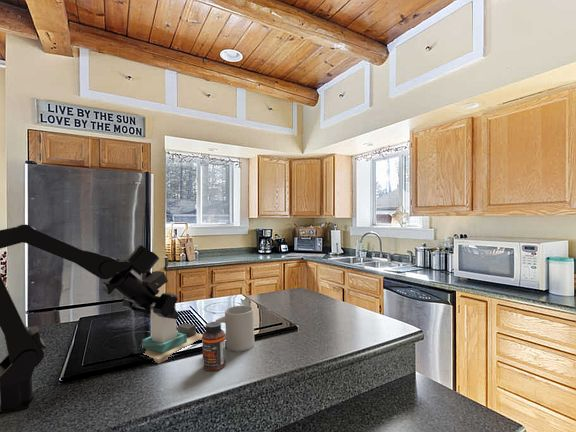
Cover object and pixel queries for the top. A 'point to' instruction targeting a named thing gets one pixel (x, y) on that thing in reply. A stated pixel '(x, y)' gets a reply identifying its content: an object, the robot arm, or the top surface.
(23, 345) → the robot arm
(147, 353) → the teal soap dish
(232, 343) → the mug
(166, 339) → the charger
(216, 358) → the supplement bottle
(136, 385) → the top surface
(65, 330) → the top surface
